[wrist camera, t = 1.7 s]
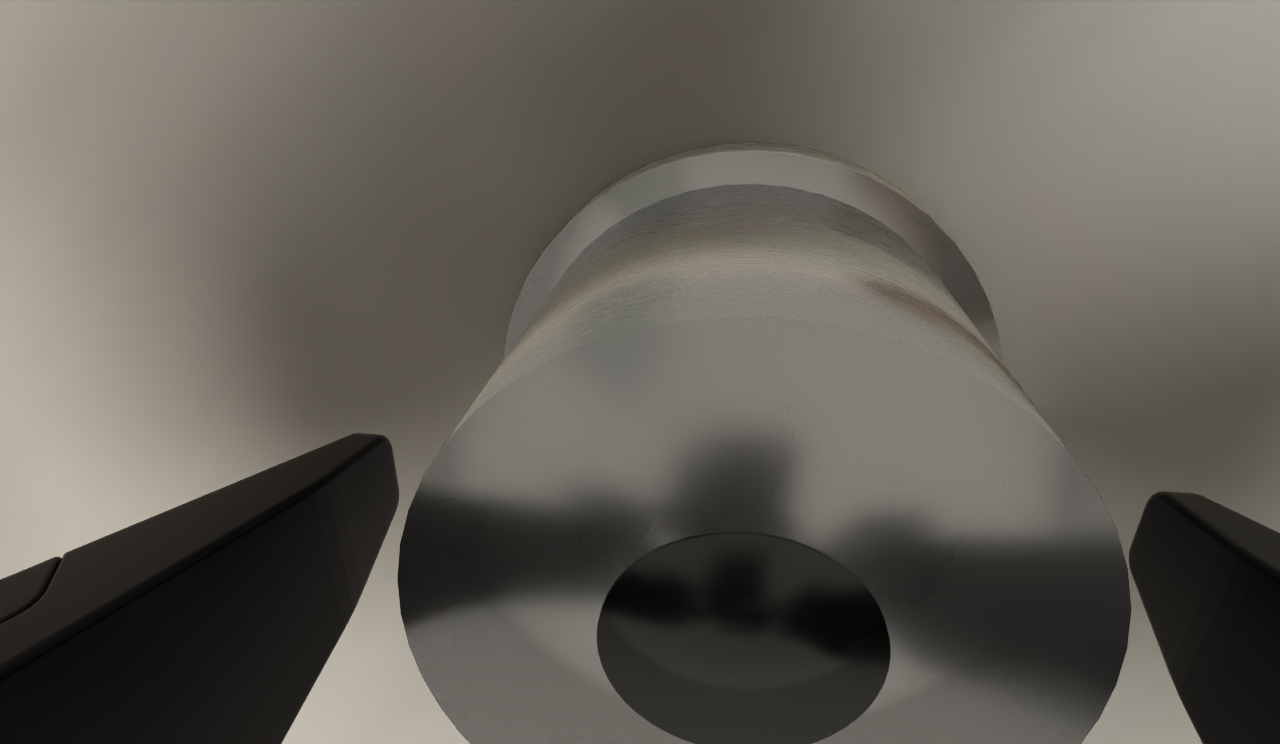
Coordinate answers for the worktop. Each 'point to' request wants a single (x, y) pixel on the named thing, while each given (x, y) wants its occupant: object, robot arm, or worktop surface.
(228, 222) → the worktop surface
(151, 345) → the worktop surface
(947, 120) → the worktop surface
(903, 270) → the cap
